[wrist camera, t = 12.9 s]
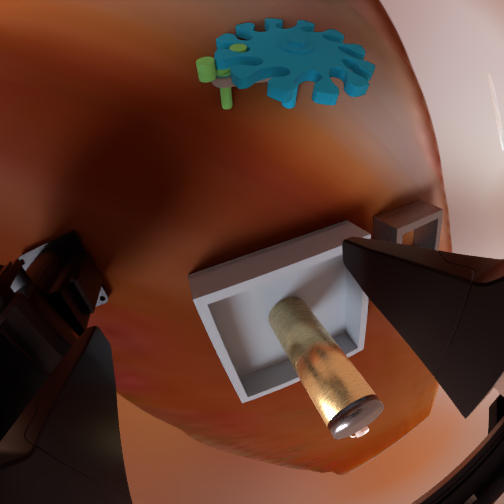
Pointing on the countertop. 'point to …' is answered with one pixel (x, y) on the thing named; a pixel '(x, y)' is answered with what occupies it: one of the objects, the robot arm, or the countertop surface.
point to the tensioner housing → (410, 224)
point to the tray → (269, 294)
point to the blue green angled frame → (286, 62)
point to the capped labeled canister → (324, 369)
